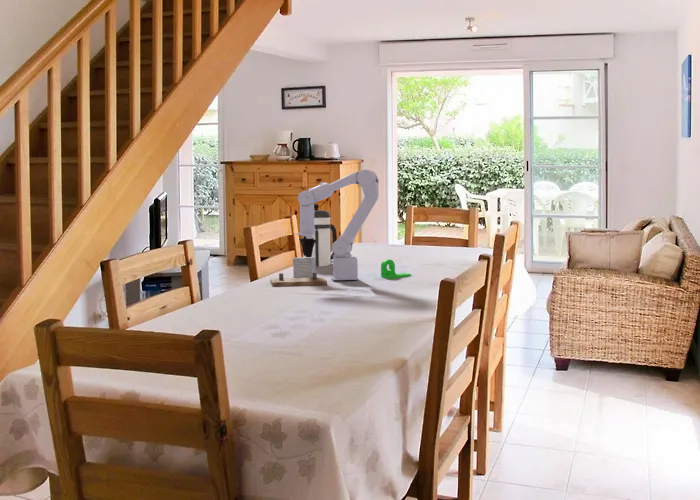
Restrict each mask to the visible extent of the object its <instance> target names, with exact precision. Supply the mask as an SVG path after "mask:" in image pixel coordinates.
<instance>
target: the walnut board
mask: <svg viewBox="0 0 700 500" xmlns="http://www.w3.org/2000/svg"><path fill="white" fill-rule="evenodd" d="M269 280H270V281H269V282H270V285H271V286H272V288H273V287H275V288H276V287H303V286H305V287H306V286H308V287H309V286H328V281H327V280H326V279H325V278H324V277H323V276H321V277H318V273H317V272H315V273H313V278H294V277H286V278H285V277H284V273H282V272H281V273H278V278H269Z"/></svg>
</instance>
